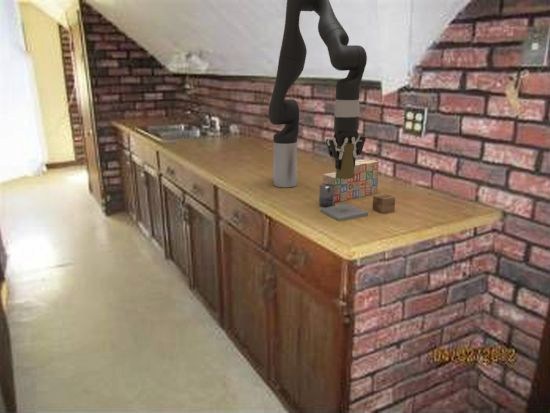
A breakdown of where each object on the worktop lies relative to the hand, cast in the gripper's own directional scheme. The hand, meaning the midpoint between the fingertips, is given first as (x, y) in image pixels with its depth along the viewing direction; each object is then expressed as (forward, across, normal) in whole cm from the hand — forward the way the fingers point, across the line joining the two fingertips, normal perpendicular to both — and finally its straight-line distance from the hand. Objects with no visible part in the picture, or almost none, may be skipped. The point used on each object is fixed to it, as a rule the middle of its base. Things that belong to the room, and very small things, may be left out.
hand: (345, 169), depth 149 cm
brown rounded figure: (+2, 0, 0) cm, 2 cm away
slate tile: (+15, 0, 0) cm, 15 cm away
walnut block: (+15, -13, +4) cm, 20 cm away
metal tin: (+15, 0, -10) cm, 18 cm away
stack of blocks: (+15, -14, -15) cm, 26 cm away
